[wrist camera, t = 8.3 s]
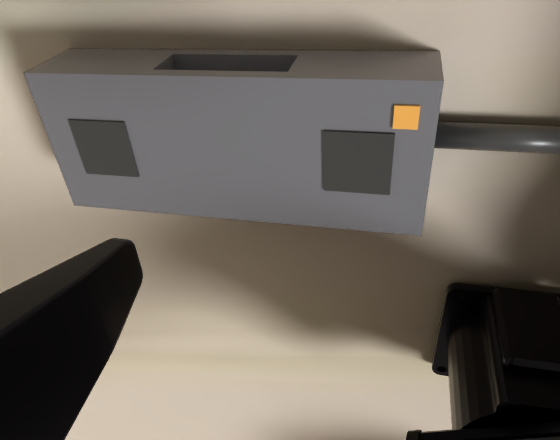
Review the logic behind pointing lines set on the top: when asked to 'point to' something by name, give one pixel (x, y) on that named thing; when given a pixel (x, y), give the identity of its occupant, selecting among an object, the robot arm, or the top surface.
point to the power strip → (259, 133)
